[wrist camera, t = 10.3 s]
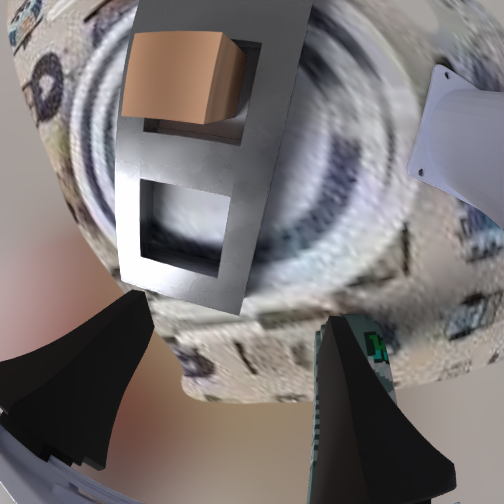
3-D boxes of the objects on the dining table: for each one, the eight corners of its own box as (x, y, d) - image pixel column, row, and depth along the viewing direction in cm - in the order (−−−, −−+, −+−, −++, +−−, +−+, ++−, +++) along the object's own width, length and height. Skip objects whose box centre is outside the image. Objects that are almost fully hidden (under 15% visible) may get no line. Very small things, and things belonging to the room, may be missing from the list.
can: (372, 357, 24) (385, 501, 11) (312, 359, 25) (303, 508, 12) (386, 313, 21) (418, 487, 8) (317, 315, 22) (312, 502, 9)
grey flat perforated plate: (329, -72, 6) (332, -86, 4) (243, 298, 22) (239, 315, 20) (187, -78, 6) (177, -89, 4) (132, 267, 22) (121, 280, 20)
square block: (248, 56, 13) (222, 32, 8) (235, 117, 15) (203, 124, 10) (185, 51, 13) (134, 33, 8) (174, 108, 15) (121, 116, 10)
